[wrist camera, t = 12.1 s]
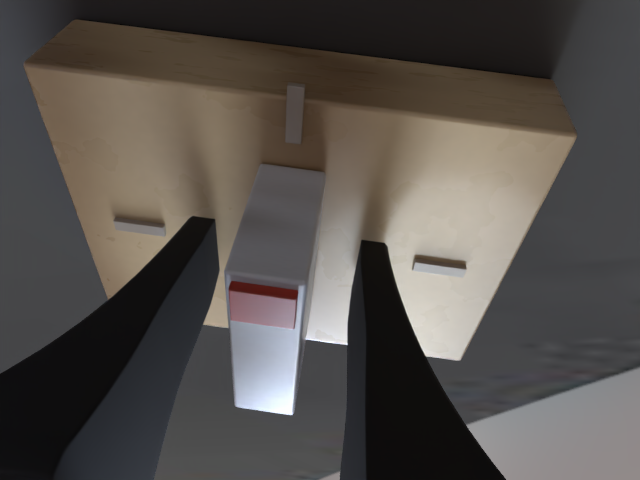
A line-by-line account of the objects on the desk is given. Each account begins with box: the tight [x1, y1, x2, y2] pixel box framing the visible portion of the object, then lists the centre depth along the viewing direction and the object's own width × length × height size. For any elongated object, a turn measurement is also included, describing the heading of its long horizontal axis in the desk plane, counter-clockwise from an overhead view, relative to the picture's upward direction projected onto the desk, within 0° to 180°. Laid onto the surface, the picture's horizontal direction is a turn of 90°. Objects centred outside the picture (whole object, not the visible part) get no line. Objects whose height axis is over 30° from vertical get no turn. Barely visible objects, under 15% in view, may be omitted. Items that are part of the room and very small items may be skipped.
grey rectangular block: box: [224, 164, 326, 415], centre depth 12 cm, size 6×2×4 cm, turn 176°
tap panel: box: [24, 20, 577, 361], centre depth 15 cm, size 12×10×3 cm
